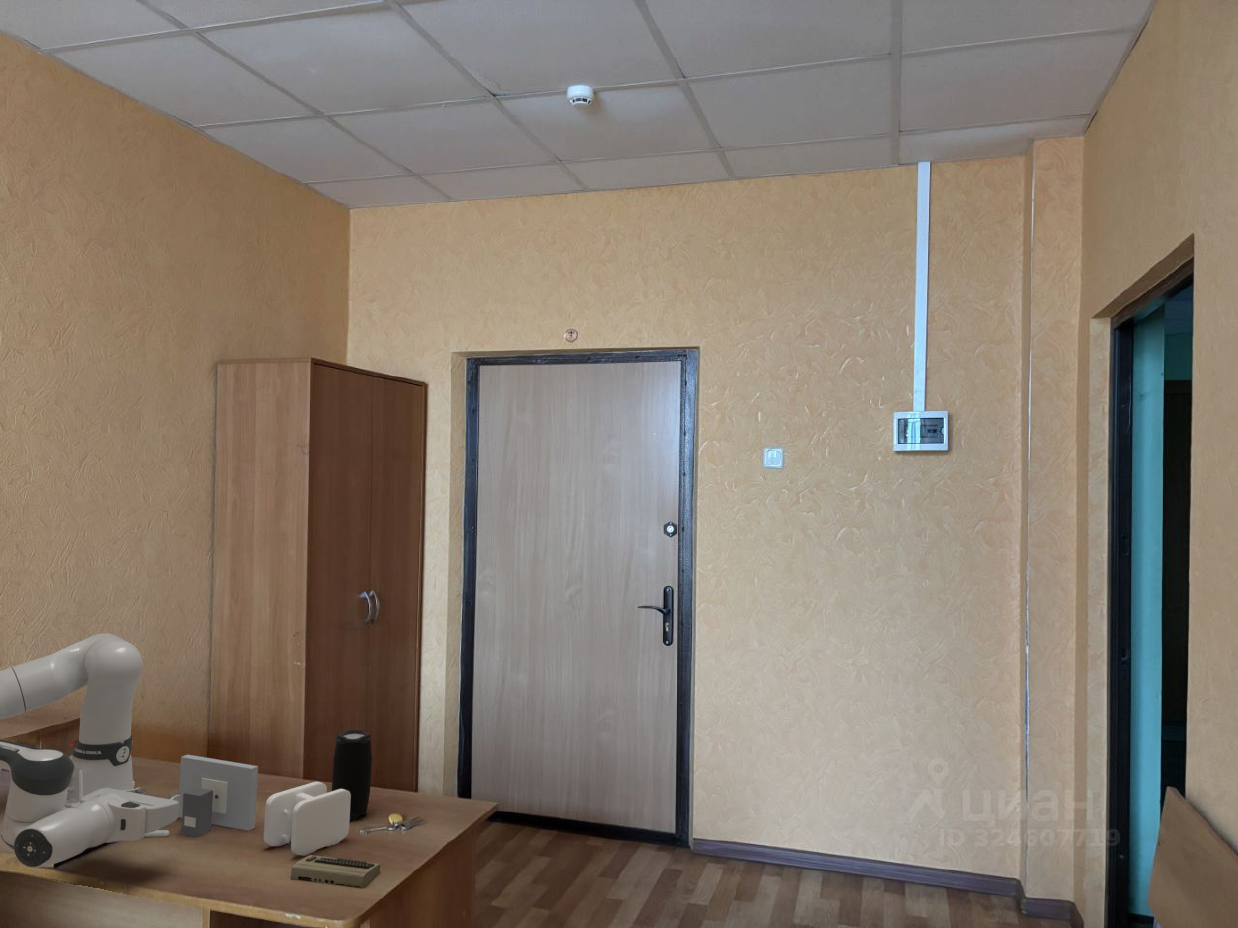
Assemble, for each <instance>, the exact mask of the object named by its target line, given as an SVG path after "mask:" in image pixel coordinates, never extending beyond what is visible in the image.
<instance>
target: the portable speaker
mask: <svg viewBox="0 0 1238 928" xmlns="http://www.w3.org/2000/svg"><path fill="white" fill-rule="evenodd" d="M371 738H372V737H371V733H369V732H367V731H365V730H364V729H363V730H362V729H360V728H359V729H358V728H355V729H354V728H353V729H347V730H345V731H343V732H341V733H339V734H337V735H336V742H335V748H334V753H333V760H332V778H331V779H332V780H331V792H332V791H335V790H338V789H345V790H347V791H349V792H350V794H351V800H350V820H349V822H353V821H355V820H356V819H357V817H360V816H363V817H366V816H367V812H368V806H369V801H370V795H371V783H372V781H371V780H372V765H373V763H372V762H373V754H372V739H371ZM365 815H366V816H365Z"/></svg>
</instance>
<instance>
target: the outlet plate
mask: <svg viewBox="0 0 1238 928" xmlns="http://www.w3.org/2000/svg"><path fill="white" fill-rule="evenodd" d="M258 775H259V766H258V765H255V764H254V765H252V764H246V763H241V762H234V761H229V760H221V759H218V758H217V759H216V758H210V757H205V756H199V755H192V754H185V755H182V756H181V757H180V770H179V788H178V795H181V802H180V803H179V814H178V818H180V819H182V811H183V793H185V792H187V791H190V790H192V789H194V788H203V789H208V790H213V800H212V819H211V825H215V826H221V827H226V828H230V829H237V830H241V831H246V832H249V831H252V830H253V829H255V828H256V816H257V815H256V811H257V798H258V797H257V796H258Z"/></svg>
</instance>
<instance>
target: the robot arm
mask: <svg viewBox="0 0 1238 928" xmlns="http://www.w3.org/2000/svg"><path fill="white" fill-rule="evenodd" d="M143 663H144V661H143V657H142V654H141V653H140V651H139V649H138V648H137V647H136V646H135V645H134V644H132V643H131V642H129V641H127V640H125V639H123V638H122V637H119V636H117V635H115V634H113V633H108V632H107V633H96V634H93V635H91V636H89V637H87V638H84V639H83V640H80V641H78V642H76V643H73V644H70V645H69V646H67V647H64V648H61V649H59V650H58V651H55V652H53V653H50V654H48V655H45V656H42V657H39V658H36V659H32V660H28V661H26V662H22V663H19V664H16V665H14V666H13V665H12V666H10V667H7V668H4V669H1V670H0V720H5V719H9V718H11V717H15V716H16V717H17V716H18V715H22V714H24V713H29V712H30V711H33V710H36V709H39V708H42V707H46V706H47V705H51V704H53V703H57V702H60V701H62V700H64V699H65V698H67V697H68V696H70V695H71V694H73V693H75V692H77V691H79V690H81V689H82V688H84V687H86V691H85V695H84V700H83V703H82V705H81V708H80V716H79V717H80V718H79V734H78V736H79V737H78V740H74V741H72V742H69V744H70V745H69V748H73V750H72V752H71V755H69V756H68V755H67V754H66V753H65V752H64V751H62V750H57V749H53V748H51V749H50V748H41V747H40V748H39V747H34V746H31V745H26V744H22V743H18V742H14V741H10V740H5V739H0V773H1V772H2V770H5V771H9V775H10V777H9V778H10V779H9V780H10V781H9V782H10V783H9V789H8V793H7V794H8V795H7V801H6V805H5V810H4V814H3V815H4V816H3V820H2V825H1V832H0V833H1V834H0V835H1V836H0V837H1V839H2V841H3V842H4V843H5V844H6V845H7V847H9V848H10V849H12V850H13V851H14V852H13V853H14V855H15V858H16V859H17V860H18V861H19V862H20V863H21V864H22V865H24V866H25V867H27V868H33V869H34V868H35V869H36V868H42V867H46V866H51V865H55V864H57V863H61V862H63V861H66V860H68V859H71V858H73V857H75V856H77V855H80V854H82V853H83V852H85V851H86V849H87V850H88V849H89V848H95V847H98V846H101V845H103V844H105V843H106V844H110V843H115V842H137V841H140V840H142V839H143V838H145V837H144V833H150V832H154V831H156V830H162V829H163V828H165V827H167V826H169V825H170V824H172V823H174V822H176V821H177V819H178V818H179V817H178V814H179V803H180V802H181V795H179V794H175V793H173V794H171V795H169V796H168V798H163V797H159V796H153V795H147V794H146V789H145V788H144V787H140V786H139V787H136V788H135V786H136V782H135V781H136V780H134V777H133V775H134V774H133V759H132V755H131V753H132V751H133V744H134V741H133V735H132V716H133V704H134V699H135V695H136V692H137V691H136V690H137V687H138V682H139V678H140V675H142V674H141V673H142V672H143V667H144V664H143ZM70 802H71V803H70ZM65 805H66V806H71V807H70V808H66V807H65Z"/></svg>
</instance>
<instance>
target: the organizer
mask: <svg viewBox="0 0 1238 928" xmlns="http://www.w3.org/2000/svg"><path fill="white" fill-rule="evenodd" d="M350 800H351V794H350V792H349V791H347V790H345V789H338V790H335V791H332V790H331V791H329V792H328V787H327V785H326V784H325V783H324V782H321V781H313V782H309V783H307V784H303V785H300V786H296V787H293V788H289V789H285V790H283V791H279V792H276V793H273V794H271V795H270V796H269V797H268V798H267V799H266V802H265V808H264V824H263V825H264V826H263V842H264V843H265V844H266V845H268V846H271V847H280V846H281V847H282V846H284V845H286V844H288V845H289V844H290V849H291V852H292V853H293V854H295V855H298V856H302V857H305V856H309V855H311V854H312V853H315V852H316V851H317V850H319V849H322V848H324V847H329V848H330V847H331V845H332V846H334V845H336V844H337V845H338V844H339V843H340V842H341V841H343V840H344V839H345V838H346V837H347V835H348V834H349V831H350V821H349V820H350Z"/></svg>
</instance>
